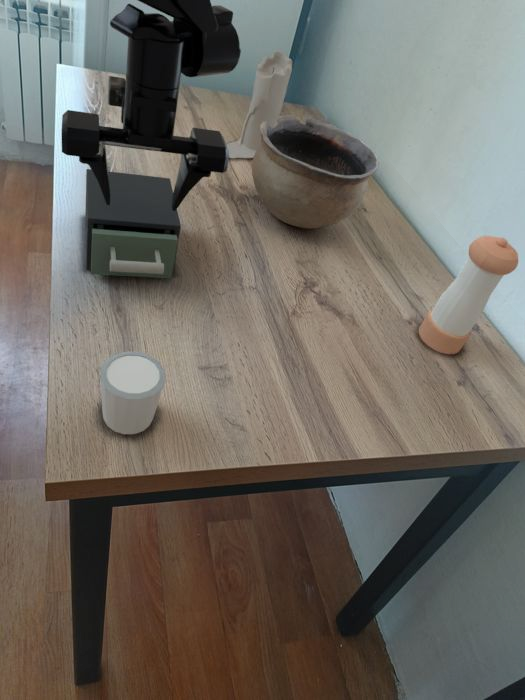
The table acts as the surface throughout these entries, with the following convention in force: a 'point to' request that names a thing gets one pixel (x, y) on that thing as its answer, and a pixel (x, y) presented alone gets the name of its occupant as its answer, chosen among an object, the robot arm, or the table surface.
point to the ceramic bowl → (311, 171)
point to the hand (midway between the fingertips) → (141, 206)
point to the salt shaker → (468, 294)
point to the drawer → (132, 251)
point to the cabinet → (130, 205)
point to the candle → (263, 103)
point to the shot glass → (130, 391)
